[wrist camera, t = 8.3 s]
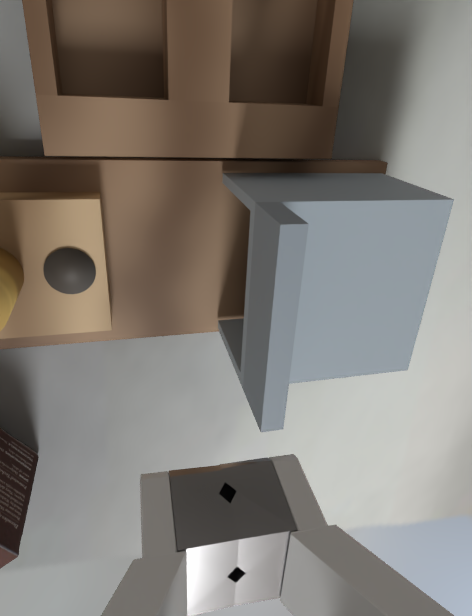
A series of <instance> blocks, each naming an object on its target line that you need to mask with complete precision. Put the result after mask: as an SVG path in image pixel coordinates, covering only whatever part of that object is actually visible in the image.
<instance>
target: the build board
mask: <svg viewBox="0 0 472 616" xmlns="http://www.w3.org/2000/svg"><path fill="white" fill-rule="evenodd" d="M22 3H23V9H24V16H25V23H26V30H27V37H28V44H29V51H30V58H31V65H32V72H33V79H34V86H35V92H36V99H37V106H38V113H39V120H40V127H41V134H42V141H43V148H44V155H45V156H107V157H198V158H289V159H331V158H332V151H333V143H334V136H335V129H336V122H337V115H338V108H339V100H340V93H341V86H342V79H343V72H344V64H345V57H346V50H347V43H348V36H349V28H350V21H351V14H352V7H353V0H22Z"/></svg>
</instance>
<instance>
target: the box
mask: <svg viewBox="0 0 472 616" xmlns="http://www.w3.org/2000/svg"><path fill="white" fill-rule="evenodd" d="M37 462H38V455H37V453H36V452H35V451H33V450H32V449H30V448H29V447H28V446H26V445H25V444H23V443H22V442H20V441H18V440H16V439H15V438H14V437H12V436H11V435H9V434H8V433H7V432H5V431H3V430H2V429H1V428H0V568H2V567H3V566H5V565H6V564H8V563H9V562H11V561H12V560H14V559H15V558H17V557H18V555H19V546H20V541H21V536H22V534H23V528H24V523H25V520H26V514H27V510H28V505H29V500H30V496H31V491H32V485H33V481H34V476H35V471H36V466H37Z"/></svg>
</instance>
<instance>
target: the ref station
mask: <svg viewBox="0 0 472 616" xmlns="http://www.w3.org/2000/svg"><path fill="white" fill-rule="evenodd" d="M386 169H387V162H384V161H381V160H300V159H205V158H110V157H15V156H0V349H10V348H22V347H34V346H46V345H58V344H70V343H83V342H95V341H107V340H119V339H131V338H143V337H156V336H168V335H180V334H192V333H204V332H216V331H219V329H218V320H229V319H242V318H244V308H245V292H246V276H247V260H248V244H249V228H250V210H249V209H248V208H247V207H246V206H245V205H244V204H243V203H242V202H241V201H240V200H239V199H238V198H237V197H236V196H235V195H234V194H233V193H232V192H231V191H230V190H229V189H228V188H227V187H226V186H225V185H224V184H223V183H222V181H223V173H383V174H386Z"/></svg>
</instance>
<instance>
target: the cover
mask: <svg viewBox="0 0 472 616" xmlns="http://www.w3.org/2000/svg"><path fill="white" fill-rule="evenodd" d="M222 183H223V184H224V185H225V186H226V187H227V188H228V189H229V190H230V191H231V192H232V193H233V194H234V195H235V196H236V197H237V198H238V199H239V200H240V201H241V202H242V203H243V204H244V205H245V206H246V207H247V208H248V209H249V210H250V228H249V244H248V260H247V276H246V292H245V308H244V318H242V319H229V320H218V329H219V332H220V334H221V337H222V339H223V341H224V344H225V346H226V349H227V351H228V354H229V356H230V359H231V361H232V363H233V366H234V368H235V371H236V373H237V376H238V378H239V380H240V383H241V385H242V388H243V390H244V393H245V395H246V397H247V400H248V402H249V405H250V407H251V410H252V412H253V415H254V417H255V419H256V422H257V424H258V427H259V429H260V432H266V431H274V430H281V429H283V426H284V418H285V410H286V402H287V394H288V386H289V384H290V383H299V382H308V381H316V380H325V379H334V378H343V377H351V376H360V375H369V374H378V373H386V372H395V371H404V370H408V367H409V363H410V359H411V356H412V352H413V348H414V345H415V341H416V337H417V334H418V330H419V326H420V323H421V319H422V315H423V312H424V308H425V304H426V301H427V297H428V293H429V290H430V286H431V282H432V278H433V275H434V271H435V267H436V264H437V260H438V256H439V253H440V249H441V245H442V242H443V238H444V234H445V231H446V227H447V223H448V220H449V216H450V212H451V209H452V205H453V201H454V199H451V198H448V197H446V196H443V195H440V194H437V193H435V192H432V191H429V190H426V189H424V188H421V187H418V186H415V185H413V184H410V183H407V182H404V181H402V180H399V179H396V178H394V177H391V176H388V175H385V174H383V173H223V181H222Z"/></svg>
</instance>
